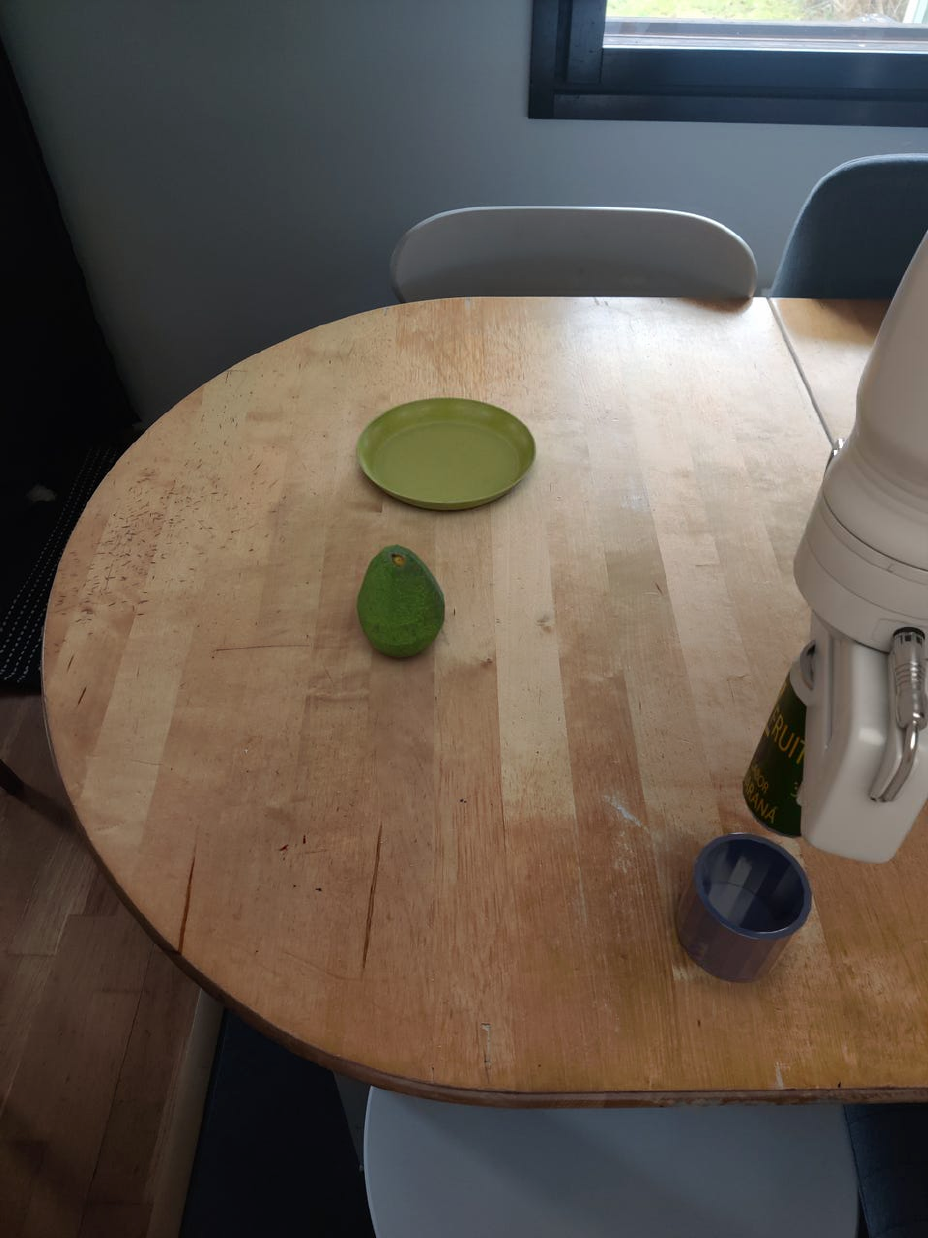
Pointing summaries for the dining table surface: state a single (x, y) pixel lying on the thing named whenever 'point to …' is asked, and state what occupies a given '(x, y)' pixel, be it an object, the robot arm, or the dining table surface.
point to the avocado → (400, 603)
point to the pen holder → (742, 907)
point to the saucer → (446, 452)
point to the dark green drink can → (782, 754)
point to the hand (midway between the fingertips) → (814, 747)
